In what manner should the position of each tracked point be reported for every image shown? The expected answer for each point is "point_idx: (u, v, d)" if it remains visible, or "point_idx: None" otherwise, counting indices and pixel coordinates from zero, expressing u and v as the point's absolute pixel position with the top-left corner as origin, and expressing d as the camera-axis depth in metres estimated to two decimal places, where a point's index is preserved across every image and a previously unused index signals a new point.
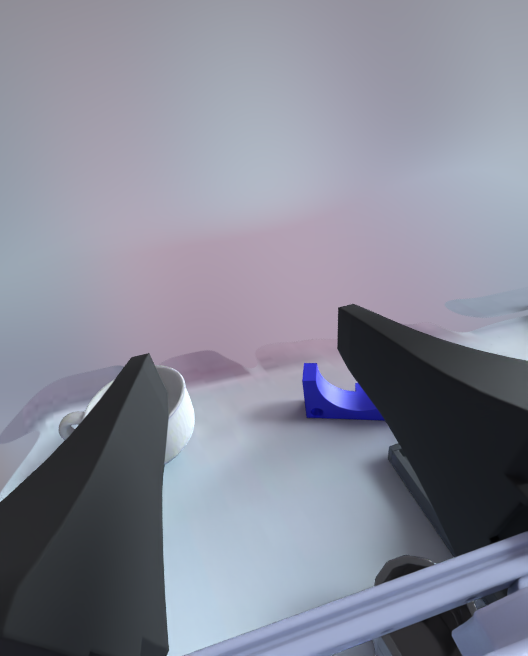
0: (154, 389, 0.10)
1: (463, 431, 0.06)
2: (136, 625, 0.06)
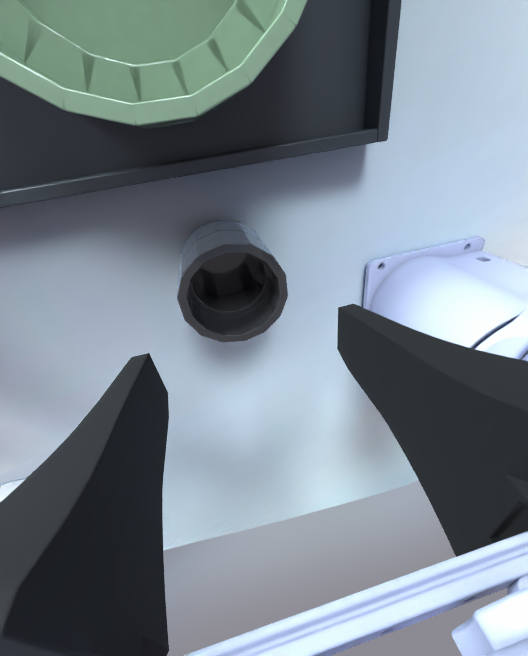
0: (154, 389, 0.10)
1: (463, 431, 0.06)
2: (136, 625, 0.06)
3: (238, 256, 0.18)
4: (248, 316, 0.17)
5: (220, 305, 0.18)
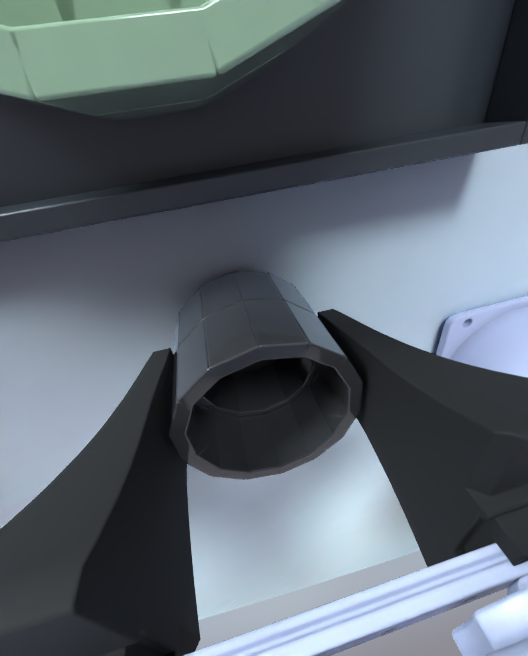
0: None
1: (428, 442, 0.06)
2: (173, 612, 0.06)
3: None
4: (284, 422, 0.11)
5: (238, 397, 0.12)
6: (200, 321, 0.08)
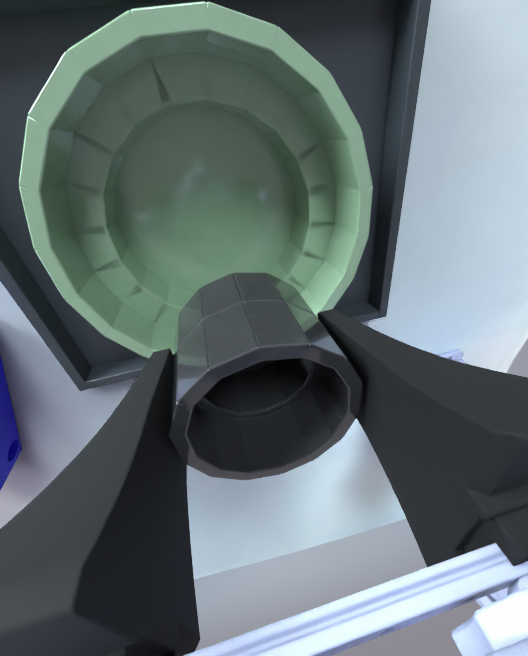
0: None
1: (428, 442, 0.06)
2: (173, 612, 0.06)
3: None
4: (284, 423, 0.11)
5: (238, 398, 0.12)
6: (200, 322, 0.08)
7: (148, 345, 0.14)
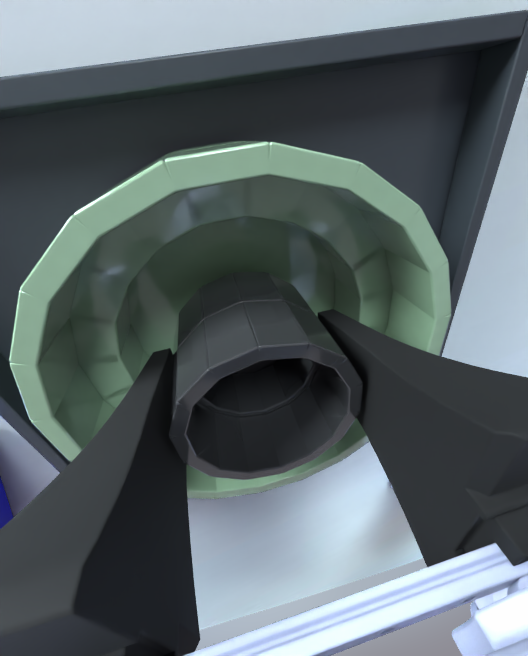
0: None
1: (428, 442, 0.06)
2: (173, 612, 0.06)
3: None
4: (284, 422, 0.11)
5: (238, 398, 0.12)
6: (200, 321, 0.08)
7: None
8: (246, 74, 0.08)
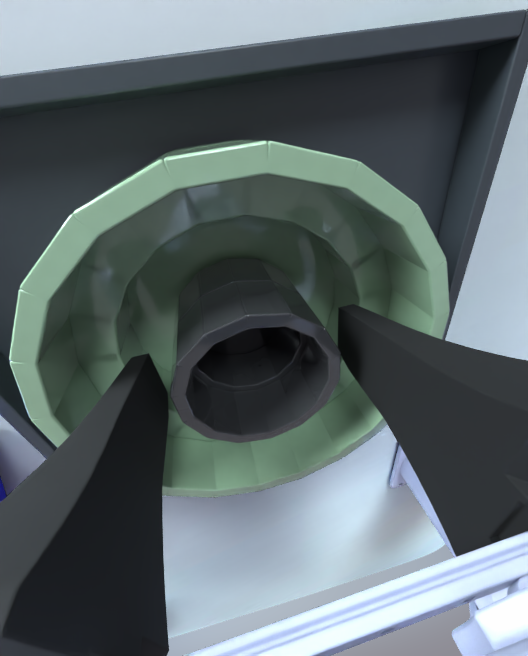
0: (154, 389, 0.10)
1: (463, 431, 0.06)
2: (136, 625, 0.06)
3: None
4: (274, 395, 0.12)
5: (233, 374, 0.13)
6: (197, 299, 0.10)
7: (168, 482, 0.11)
8: (245, 74, 0.08)
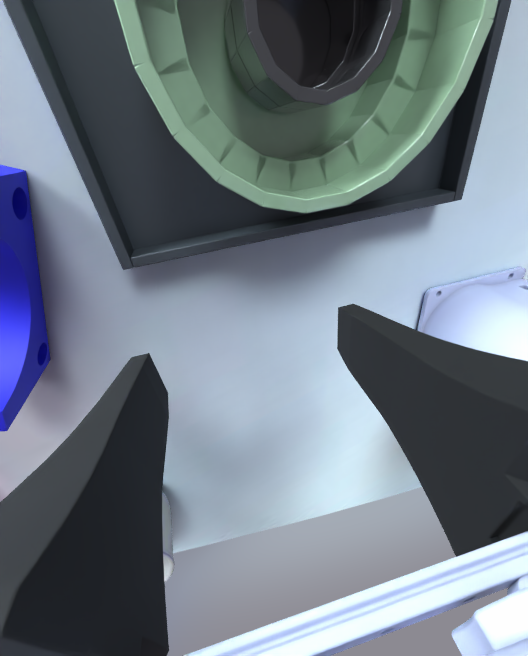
0: (154, 389, 0.10)
1: (463, 431, 0.06)
2: (136, 625, 0.06)
3: (305, 19, 0.13)
4: (326, 88, 0.12)
5: None
6: None
7: None
8: None
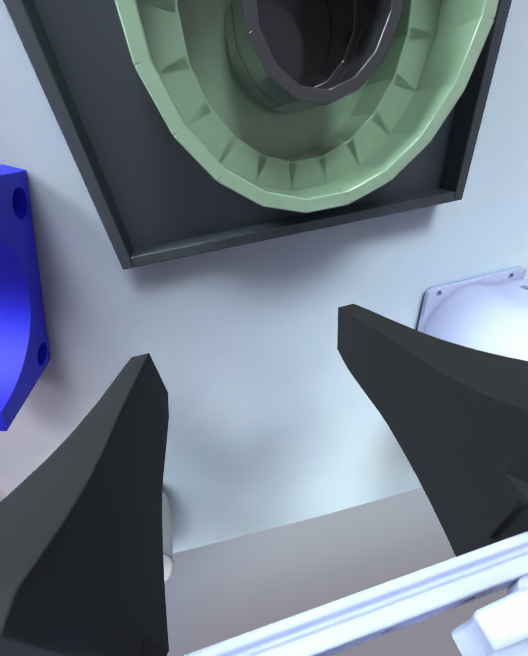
0: (154, 389, 0.10)
1: (463, 431, 0.06)
2: (136, 625, 0.06)
3: (306, 19, 0.13)
4: (326, 88, 0.12)
5: None
6: None
7: None
8: None
